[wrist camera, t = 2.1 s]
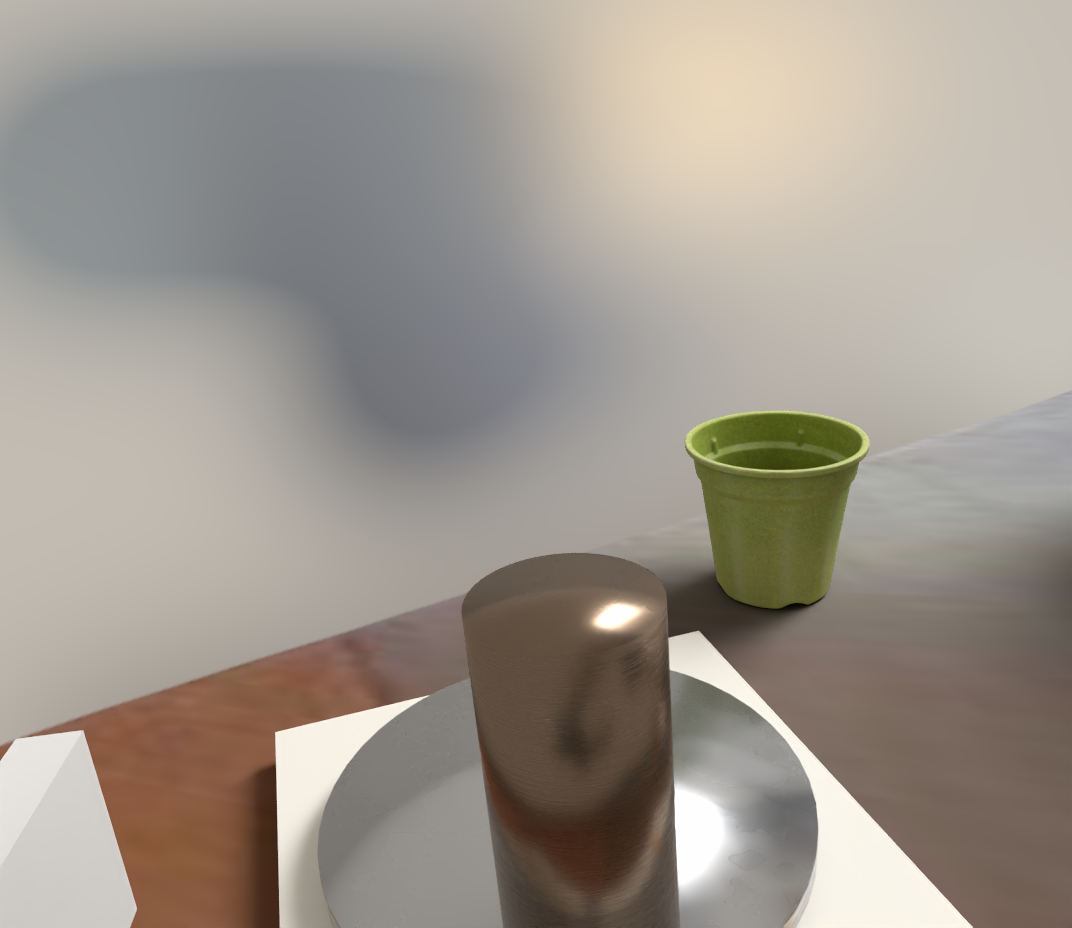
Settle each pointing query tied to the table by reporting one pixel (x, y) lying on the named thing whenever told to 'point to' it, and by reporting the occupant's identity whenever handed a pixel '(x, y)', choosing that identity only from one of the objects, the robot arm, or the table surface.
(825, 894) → the dial board
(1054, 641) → the table surface
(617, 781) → the dial
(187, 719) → the table surface
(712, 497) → the plant pot
